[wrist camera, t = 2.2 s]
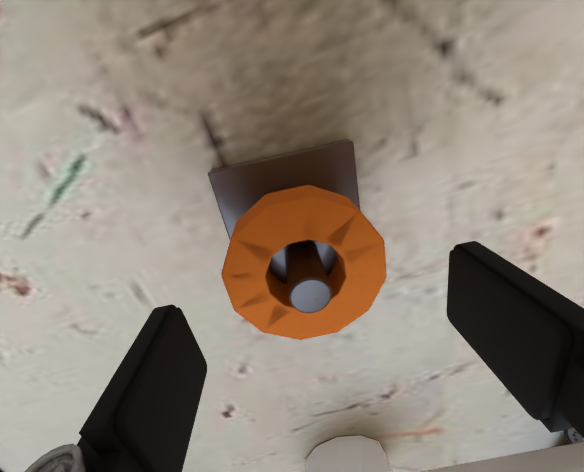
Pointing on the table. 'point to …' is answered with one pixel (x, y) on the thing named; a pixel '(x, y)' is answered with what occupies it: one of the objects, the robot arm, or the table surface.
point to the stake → (280, 176)
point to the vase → (348, 456)
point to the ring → (294, 228)
